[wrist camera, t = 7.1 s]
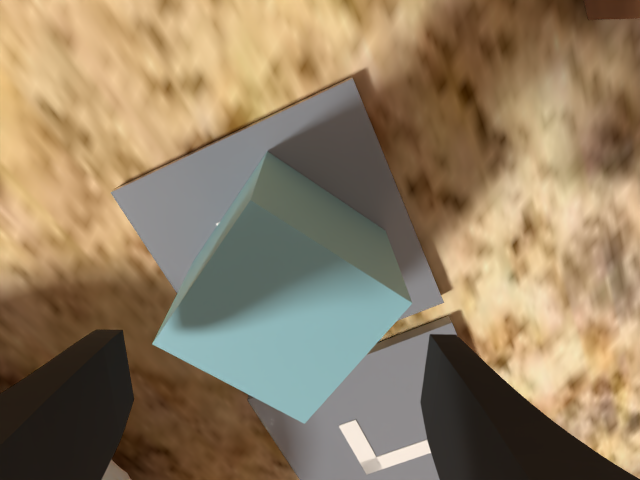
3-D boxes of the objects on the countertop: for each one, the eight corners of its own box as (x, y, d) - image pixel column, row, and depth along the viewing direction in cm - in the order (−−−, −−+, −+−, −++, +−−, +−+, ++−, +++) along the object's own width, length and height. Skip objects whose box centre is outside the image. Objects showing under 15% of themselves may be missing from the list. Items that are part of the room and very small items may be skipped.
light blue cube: (388, 232, 17) (416, 306, 13) (308, 330, 19) (308, 426, 14) (267, 151, 16) (250, 200, 12) (192, 262, 18) (152, 344, 13)
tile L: (509, 464, 23) (513, 474, 22) (333, 521, 24) (334, 532, 24) (448, 315, 20) (452, 323, 19) (248, 392, 21) (247, 400, 20)
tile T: (440, 296, 19) (444, 303, 19) (237, 374, 20) (235, 383, 20) (351, 76, 16) (353, 78, 15) (116, 187, 17) (109, 192, 17)
